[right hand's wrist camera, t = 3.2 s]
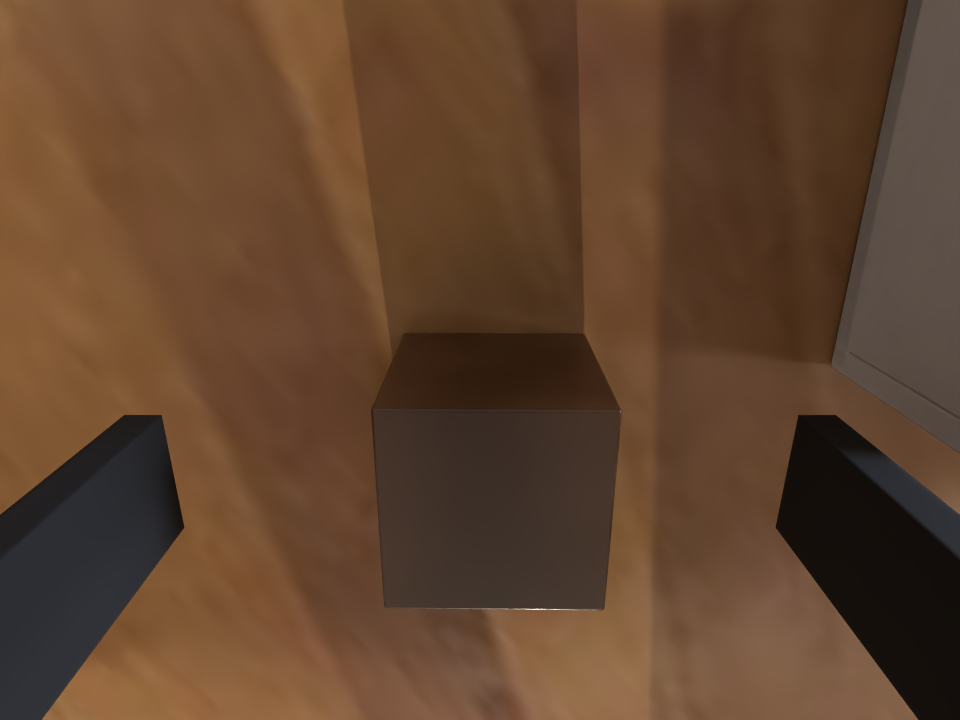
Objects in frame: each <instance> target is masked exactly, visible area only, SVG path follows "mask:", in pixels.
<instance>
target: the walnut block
mask: <svg viewBox="0 0 960 720" xmlns="http://www.w3.org/2000/svg"><path fill="white" fill-rule="evenodd" d="M621 414H622V412H621V409H620V407H619V405H618V403H617V401H616V399H615V397H614V395H613V392H612V390H611V388H610V386H609V384H608V382H607V380H606V378H605V376H604V374H603V372H602V370H601V367H600V365H599V363H598V361H597V359H596V357H595V355H594V353H593V351H592V349H591V347H590V345H589V343H588V340H587V338H586V336H585V335H584V334H418V333H405V334H404V335H403V337H402V339H401V342H400V344H399V346H398V349H397V351H396V353H395V356H394V358H393V360H392V363H391V365H390V367H389V370H388V372H387V374H386V377H385V379H384V381H383V384H382V386H381V388H380V391H379V393H378V395H377V398H376V400H375V403H374V405H373V407H372V410H371V416H372V431H373V446H374V461H375V476H376V490H377V505H378V520H379V535H380V550H381V565H382V579H383V594H384V606H385V608H394V609H497V610H599V611H602V610H604V607H605V596H606V585H607V574H608V562H609V551H610V539H611V528H612V517H613V505H614V494H615V482H616V471H617V460H618V448H619V437H620V426H621Z"/></svg>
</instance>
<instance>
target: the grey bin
mask: <svg viewBox="0 0 960 720" xmlns="http://www.w3.org/2000/svg"><path fill="white" fill-rule="evenodd" d="M831 366H832V368H834V369H835V370H837V371H838V372H840V373H841V374H843V375H844V376H846V377H847V378H849V379H850V380H852V381H853V382H855V383H856V384H858V385H859V386H861V387H862V388H864V389H865V390H866V391H868V392H869V393H871V394H872V395H874V396H875V397H877V398H878V399H880V400H881V401H883V402H884V403H886V404H887V405H889V406H890V407H892V408H893V409H895V410H896V411H898V412H899V413H900V414H902V415H903V416H905V417H906V418H908V419H909V420H911V421H912V422H914V423H915V424H917V425H918V426H920V427H921V428H923V429H924V430H926V431H927V432H929V433H930V434H932V435H933V436H935V437H936V438H937V439H939V440H940V441H942V442H943V443H945V444H946V445H948V446H949V447H951V448H952V449H954V450H955V451H957V452H958V453H960V0H908V4H907V9H906V14H905V18H904V23H903V28H902V32H901V37H900V42H899V47H898V51H897V56H896V61H895V66H894V70H893V75H892V80H891V84H890V89H889V94H888V99H887V103H886V108H885V113H884V118H883V122H882V127H881V132H880V136H879V141H878V146H877V151H876V155H875V160H874V165H873V170H872V174H871V179H870V184H869V188H868V193H867V198H866V203H865V207H864V212H863V217H862V222H861V226H860V231H859V236H858V241H857V245H856V250H855V255H854V259H853V264H852V269H851V274H850V278H849V283H848V288H847V293H846V297H845V302H844V307H843V311H842V316H841V321H840V326H839V330H838V335H837V340H836V345H835V349H834V354H833V358H832V363H831Z"/></svg>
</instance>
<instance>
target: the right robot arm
mask: <svg viewBox="0 0 960 720" xmlns="http://www.w3.org/2000/svg"><path fill="white" fill-rule="evenodd" d="M183 529H184V524H183V519H182V514H181V509H180V504H179V499H178V494H177V489H176V484H175V479H174V474H173V469H172V464H171V460H170V455H169V450H168V445H167V440H166V435H165V430H164V425H163V420H162V415H124V416H123V417H121V418H120V419H119V420H118V421H116V422H115V423H114V424H113V425H111V426H110V427H109V428H108V429H106V430H105V431H104V432H103V433H101V434H100V435H99V436H98V437H97V438H95V439H94V440H93V441H92V442H90V443H89V444H88V445H87V446H85V447H84V448H83V449H82V450H80V451H79V452H78V453H77V454H75V455H74V456H73V457H72V458H70V459H69V460H68V461H67V462H65V463H64V464H63V465H62V466H60V467H59V468H58V469H57V470H55V471H54V472H53V473H52V474H51V475H49V476H48V477H47V478H46V479H44V480H43V481H42V482H41V483H39V484H38V485H37V486H36V487H34V488H33V489H32V490H31V491H29V492H28V493H27V494H26V495H24V496H23V497H22V498H21V499H19V500H18V501H17V502H16V503H14V504H13V505H12V506H11V507H9V508H8V509H7V510H6V511H4V512H3V513H2V514H1V515H0V720H42V718H43V717H44V716H45V714H46V713H47V712H48V710H49V709H50V708H51V706H52V705H53V704H54V702H55V701H56V700H57V698H58V697H59V696H60V694H61V693H62V691H63V690H64V689H65V687H66V686H67V685H68V683H69V682H70V681H71V679H72V678H73V677H74V675H75V674H76V673H77V671H78V670H79V669H80V667H81V666H82V665H83V663H84V662H85V661H86V659H87V658H88V656H89V655H90V654H91V652H92V651H93V650H94V648H95V647H96V646H97V644H98V643H99V642H100V640H101V639H102V638H103V636H104V635H105V634H106V632H107V631H108V630H109V628H110V627H111V625H112V624H113V623H114V621H115V620H116V619H117V617H118V616H119V615H120V613H121V612H122V611H123V609H124V608H125V607H126V605H127V604H128V603H129V601H130V600H131V599H132V597H133V596H134V595H135V593H136V592H137V590H138V589H139V588H140V586H141V585H142V584H143V582H144V581H145V580H146V578H147V577H148V576H149V574H150V573H151V572H152V570H153V569H154V568H155V566H156V565H157V564H158V562H159V561H160V559H161V558H162V557H163V555H164V554H165V553H166V551H167V550H168V549H169V547H170V546H171V545H172V543H173V542H174V541H175V539H176V538H177V537H178V535H179V534H180V533H181V531H182V530H183ZM776 529H777V530H778V531H779V533H780V534H781V535H782V537H783V538H784V539H785V541H786V542H787V543H788V545H789V546H790V547H791V549H792V550H793V551H794V553H795V554H796V555H797V557H798V558H799V559H800V561H801V562H802V564H803V565H804V566H805V568H806V569H807V570H808V572H809V573H810V574H811V576H812V577H813V578H814V580H815V581H816V582H817V584H818V585H819V586H820V588H821V589H822V590H823V592H824V593H825V595H826V596H827V597H828V599H829V600H830V601H831V603H832V604H833V605H834V607H835V608H836V609H837V611H838V612H839V613H840V615H841V616H842V617H843V619H844V620H845V621H846V623H847V624H848V625H849V627H850V628H851V630H852V631H853V632H854V634H855V635H856V636H857V638H858V639H859V640H860V642H861V643H862V644H863V646H864V647H865V648H866V650H867V651H868V652H869V654H870V655H871V656H872V658H873V659H874V661H875V662H876V663H877V665H878V666H879V667H880V669H881V670H882V671H883V673H884V674H885V675H886V677H887V678H888V679H889V681H890V682H891V683H892V685H893V686H894V687H895V689H896V690H897V691H898V693H899V694H900V696H901V697H902V698H903V700H904V701H905V702H906V704H907V705H908V706H909V708H910V709H911V710H912V712H913V713H914V714H915V716H916V717H917V718H918V720H960V515H959V514H958V513H957V512H956V511H954V510H953V509H952V508H951V507H949V506H948V505H947V504H946V503H944V502H943V501H942V500H941V499H939V498H938V497H937V496H936V495H934V494H933V493H932V492H931V491H929V490H928V489H927V488H926V487H924V486H923V485H922V484H921V483H919V482H918V481H917V480H916V479H914V478H913V477H912V476H911V475H909V474H908V473H907V472H906V471H905V470H903V469H902V468H901V467H900V466H898V465H897V464H896V463H895V462H893V461H892V460H891V459H890V458H888V457H887V456H886V455H885V454H883V453H882V452H881V451H880V450H878V449H877V448H876V447H875V446H873V445H872V444H871V443H870V442H868V441H867V440H866V439H865V438H863V437H862V436H861V435H860V434H859V433H857V432H856V431H855V430H854V429H852V428H851V427H850V426H849V425H847V424H846V423H845V422H844V421H842V420H841V419H840V418H839V417H837V416H836V415H798V420H797V425H796V430H795V435H794V440H793V445H792V450H791V455H790V460H789V464H788V469H787V474H786V479H785V484H784V489H783V494H782V499H781V504H780V509H779V514H778V519H777V524H776Z"/></svg>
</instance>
